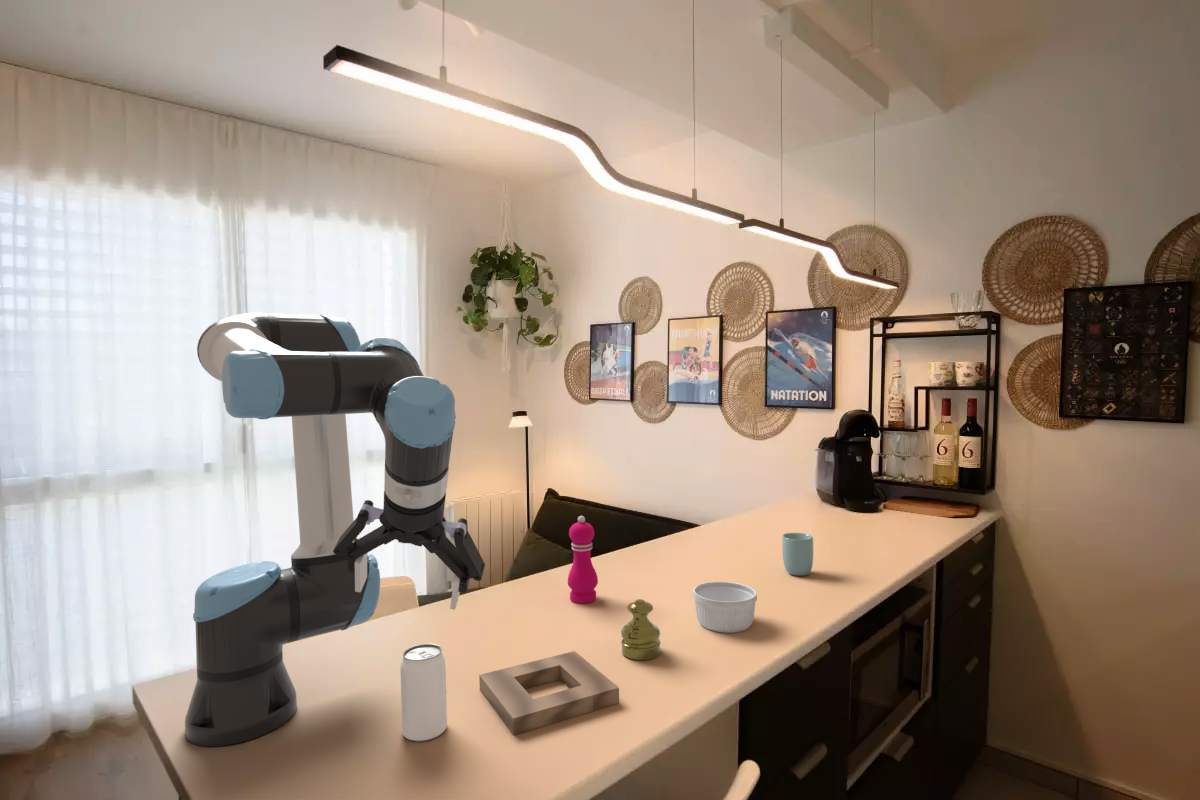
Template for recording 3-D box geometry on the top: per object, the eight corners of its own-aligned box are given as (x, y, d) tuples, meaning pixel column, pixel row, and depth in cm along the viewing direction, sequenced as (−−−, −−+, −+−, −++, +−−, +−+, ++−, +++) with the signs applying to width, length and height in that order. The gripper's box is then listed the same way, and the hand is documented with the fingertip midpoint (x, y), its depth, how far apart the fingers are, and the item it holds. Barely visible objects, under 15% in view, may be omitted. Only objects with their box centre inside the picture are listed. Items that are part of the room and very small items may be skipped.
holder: (513, 735, 92) (513, 718, 92) (479, 689, 106) (479, 674, 106) (619, 702, 100) (618, 687, 100) (575, 664, 114) (574, 650, 114)
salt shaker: (615, 648, 121) (614, 597, 121) (650, 642, 124) (649, 592, 123) (630, 664, 114) (629, 610, 114) (667, 657, 117) (666, 604, 116)
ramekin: (758, 614, 137) (757, 583, 137) (756, 638, 124) (755, 603, 124) (697, 609, 141) (696, 579, 140) (689, 632, 128) (689, 599, 128)
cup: (809, 569, 168) (809, 532, 168) (816, 578, 160) (816, 539, 160) (780, 569, 169) (779, 532, 169) (785, 578, 161) (785, 539, 161)
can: (430, 714, 98) (428, 639, 98) (456, 728, 94) (453, 649, 94) (393, 733, 93) (391, 653, 93) (419, 748, 89) (416, 665, 89)
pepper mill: (571, 606, 144) (569, 520, 144) (565, 596, 151) (563, 514, 151) (601, 602, 146) (600, 517, 146) (593, 592, 153) (592, 511, 153)
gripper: (301, 491, 74) (310, 598, 87) (508, 531, 76) (488, 631, 89) (327, 450, 80) (331, 556, 93) (518, 488, 83) (497, 587, 95)
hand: (408, 593), depth 91 cm, fingers open, 13 cm apart
